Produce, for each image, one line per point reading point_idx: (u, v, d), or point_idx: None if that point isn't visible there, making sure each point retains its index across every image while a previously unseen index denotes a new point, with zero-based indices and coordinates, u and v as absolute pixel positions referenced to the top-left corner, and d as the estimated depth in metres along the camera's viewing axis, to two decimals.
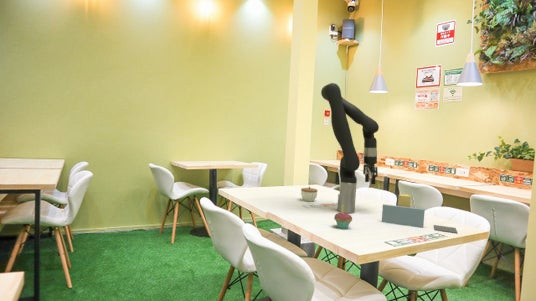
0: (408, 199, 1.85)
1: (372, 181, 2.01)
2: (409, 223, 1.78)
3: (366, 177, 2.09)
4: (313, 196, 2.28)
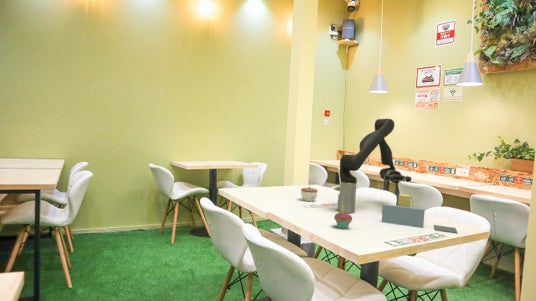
0: (408, 199, 1.85)
1: (408, 178, 1.99)
2: (409, 223, 1.78)
3: None
4: (313, 196, 2.28)
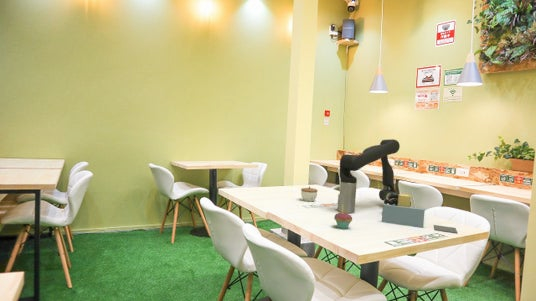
0: (408, 199, 1.85)
1: None
2: (409, 223, 1.78)
3: None
4: (313, 196, 2.28)
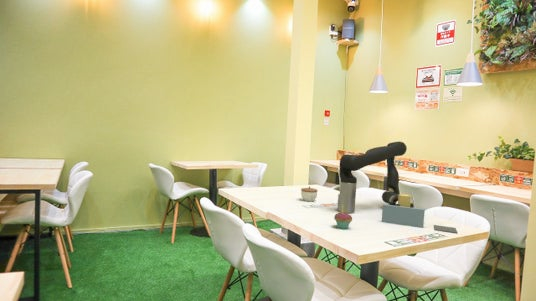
0: (408, 199, 1.85)
1: (410, 206, 1.86)
2: (409, 223, 1.78)
3: None
4: (313, 196, 2.28)
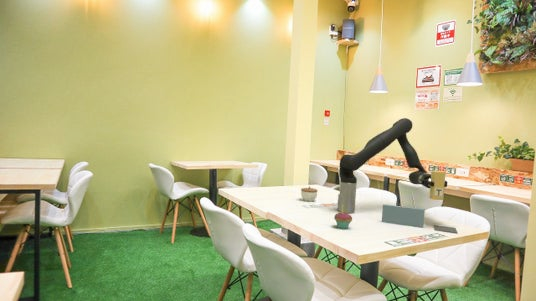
0: (442, 175, 1.75)
1: None
2: (409, 223, 1.78)
3: None
4: (313, 196, 2.28)
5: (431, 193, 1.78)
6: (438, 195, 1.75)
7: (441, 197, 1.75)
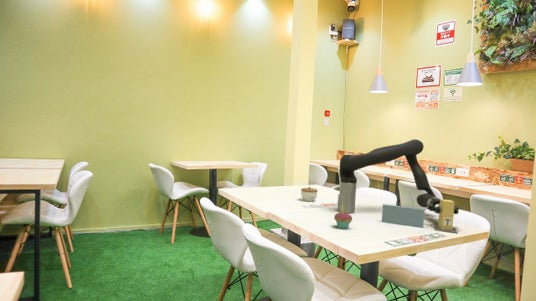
0: (451, 205, 1.72)
1: (456, 210, 1.73)
2: (409, 223, 1.78)
3: None
4: (313, 196, 2.28)
5: (440, 222, 1.75)
6: (447, 225, 1.72)
7: (450, 227, 1.72)
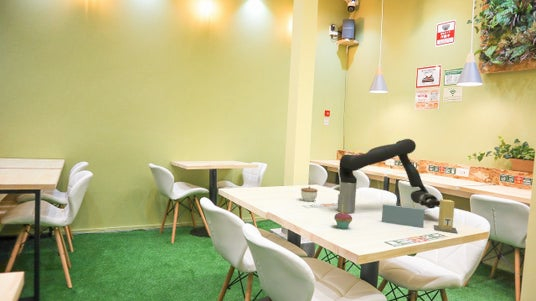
0: (451, 205, 1.72)
1: None
2: (409, 223, 1.78)
3: None
4: (313, 196, 2.28)
5: (440, 222, 1.75)
6: (447, 225, 1.72)
7: (450, 227, 1.72)
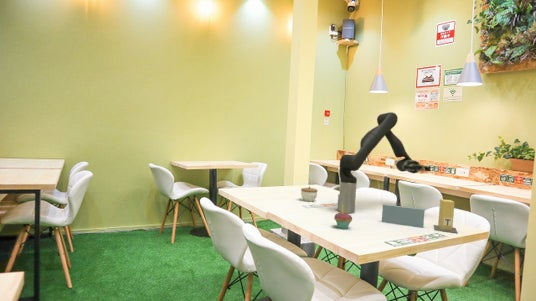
0: (451, 205, 1.72)
1: None
2: (409, 223, 1.78)
3: None
4: (313, 196, 2.28)
5: (440, 222, 1.75)
6: (447, 225, 1.72)
7: (450, 227, 1.72)
